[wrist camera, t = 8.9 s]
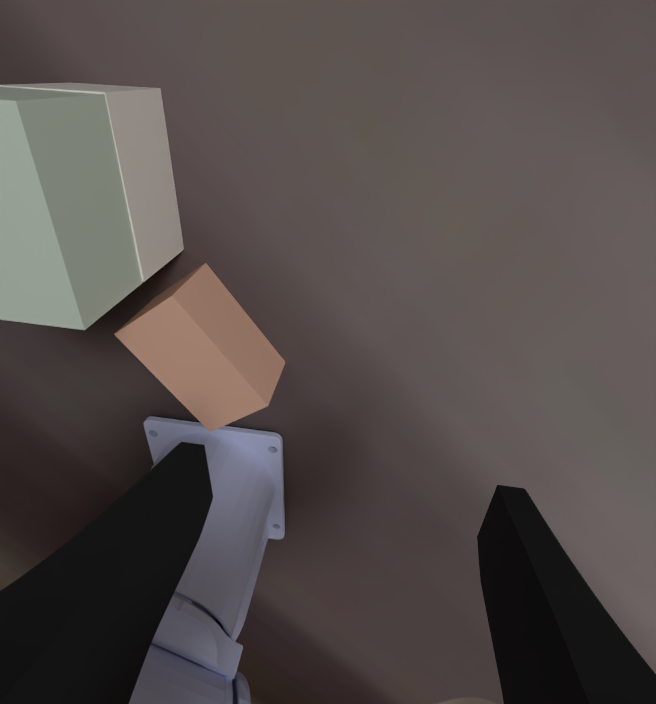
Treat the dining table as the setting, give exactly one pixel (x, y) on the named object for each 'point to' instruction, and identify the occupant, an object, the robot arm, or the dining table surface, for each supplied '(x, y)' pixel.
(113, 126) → the cream brick
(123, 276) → the sage brick
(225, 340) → the terracotta brick
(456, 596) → the dining table surface
